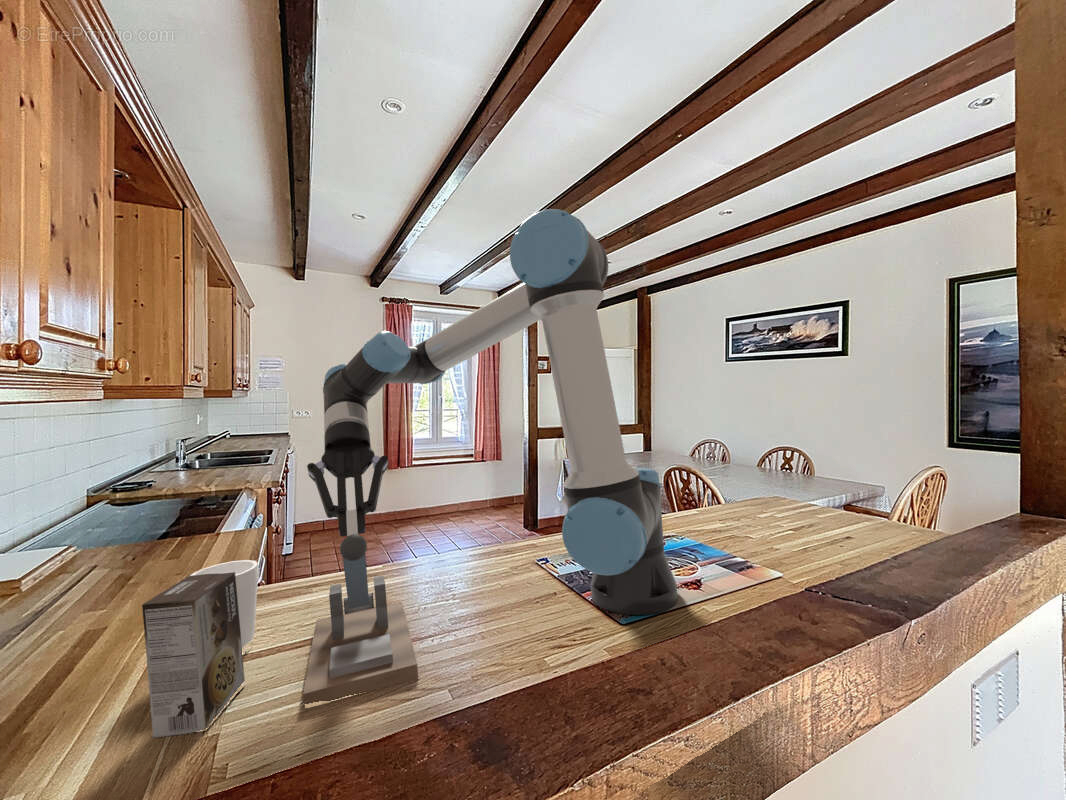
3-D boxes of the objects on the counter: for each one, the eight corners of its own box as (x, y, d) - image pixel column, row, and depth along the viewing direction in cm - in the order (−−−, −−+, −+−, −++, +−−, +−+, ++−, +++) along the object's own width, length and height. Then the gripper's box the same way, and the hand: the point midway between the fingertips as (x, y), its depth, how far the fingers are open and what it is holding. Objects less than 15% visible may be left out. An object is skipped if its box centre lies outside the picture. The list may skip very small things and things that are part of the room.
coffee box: (197, 691, 65) (188, 574, 64) (246, 686, 65) (237, 570, 65) (149, 739, 56) (138, 603, 55) (207, 732, 56) (196, 598, 56)
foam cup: (230, 670, 69) (223, 582, 69) (177, 667, 71) (171, 582, 71) (277, 637, 79) (271, 559, 78) (230, 635, 80) (224, 559, 80)
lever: (344, 600, 77) (335, 531, 66) (372, 594, 78) (368, 526, 68) (345, 621, 74) (336, 553, 64) (374, 614, 76) (370, 547, 65)
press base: (317, 631, 80) (313, 578, 80) (402, 612, 85) (398, 562, 84) (304, 709, 59) (298, 638, 59) (418, 678, 64) (413, 612, 64)
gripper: (385, 443, 90) (399, 556, 74) (309, 450, 85) (307, 573, 70) (384, 416, 85) (399, 532, 69) (304, 422, 80) (301, 547, 65)
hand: (353, 552), depth 69 cm, fingers closed
